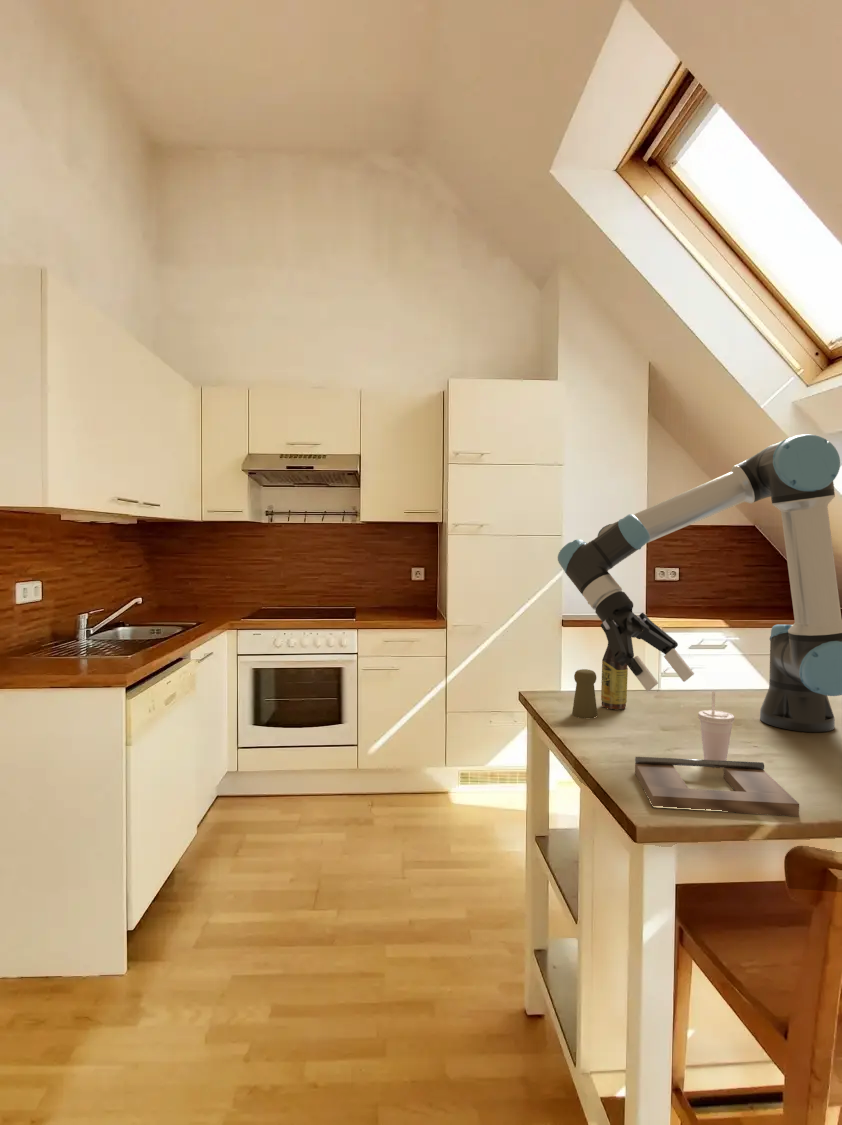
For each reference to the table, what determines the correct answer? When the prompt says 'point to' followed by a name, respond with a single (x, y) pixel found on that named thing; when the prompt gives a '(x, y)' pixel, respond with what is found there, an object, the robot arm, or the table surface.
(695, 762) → the hook bar
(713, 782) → the table surface
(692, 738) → the table surface
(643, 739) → the table surface
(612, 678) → the sauce bottle
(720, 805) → the slot board
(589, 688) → the cork
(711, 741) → the smoothie
